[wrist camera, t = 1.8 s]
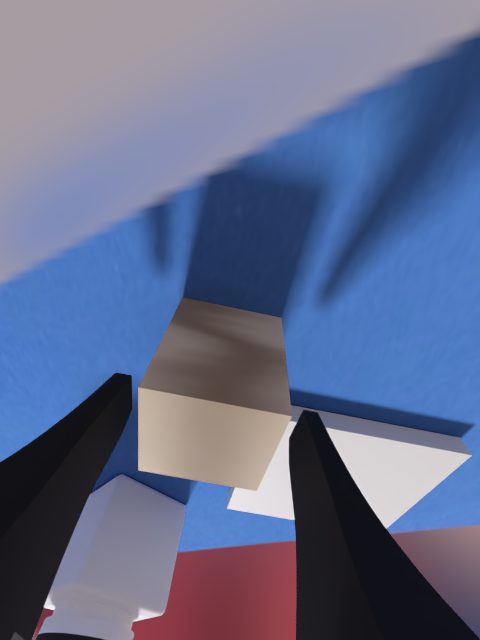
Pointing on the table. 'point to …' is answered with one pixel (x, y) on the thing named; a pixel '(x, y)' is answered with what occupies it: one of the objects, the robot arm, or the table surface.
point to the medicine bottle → (115, 563)
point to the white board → (363, 466)
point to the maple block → (214, 396)
